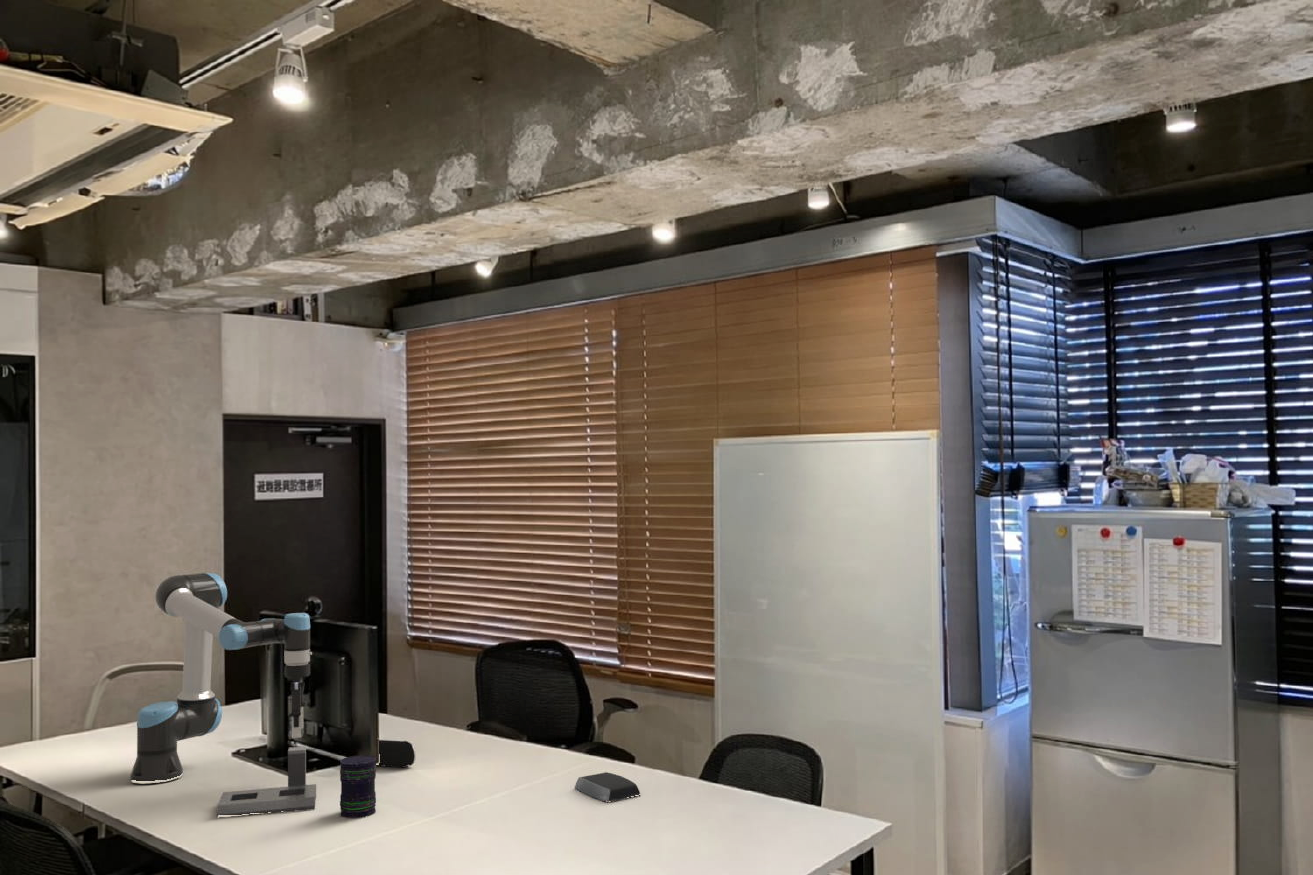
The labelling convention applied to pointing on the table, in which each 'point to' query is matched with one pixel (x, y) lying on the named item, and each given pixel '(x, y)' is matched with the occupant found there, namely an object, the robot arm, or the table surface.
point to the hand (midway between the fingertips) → (297, 733)
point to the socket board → (267, 800)
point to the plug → (297, 766)
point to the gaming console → (396, 752)
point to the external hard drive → (607, 786)
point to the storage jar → (357, 786)
